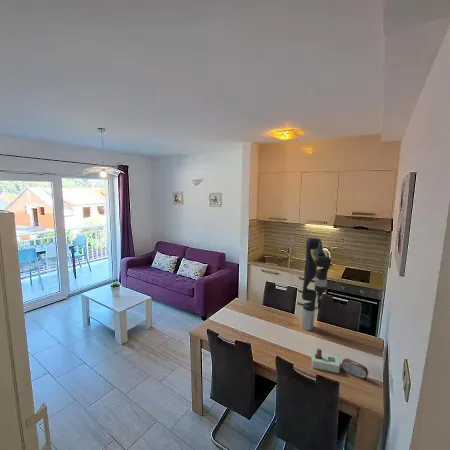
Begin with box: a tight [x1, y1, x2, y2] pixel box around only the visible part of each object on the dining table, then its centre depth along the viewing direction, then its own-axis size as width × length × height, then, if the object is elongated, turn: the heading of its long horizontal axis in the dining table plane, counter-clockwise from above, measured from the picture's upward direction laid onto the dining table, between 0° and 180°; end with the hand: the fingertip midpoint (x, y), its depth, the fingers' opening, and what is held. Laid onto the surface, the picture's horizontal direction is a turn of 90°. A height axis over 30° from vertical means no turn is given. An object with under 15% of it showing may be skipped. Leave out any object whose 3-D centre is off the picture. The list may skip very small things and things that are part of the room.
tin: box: [341, 358, 369, 380], centre depth 157 cm, size 15×3×8 cm, turn 50°
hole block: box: [311, 350, 340, 374], centre depth 165 cm, size 10×16×5 cm, turn 73°
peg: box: [316, 348, 323, 359], centre depth 165 cm, size 3×3×10 cm
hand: (318, 306), depth 176 cm, fingers open, 8 cm apart
